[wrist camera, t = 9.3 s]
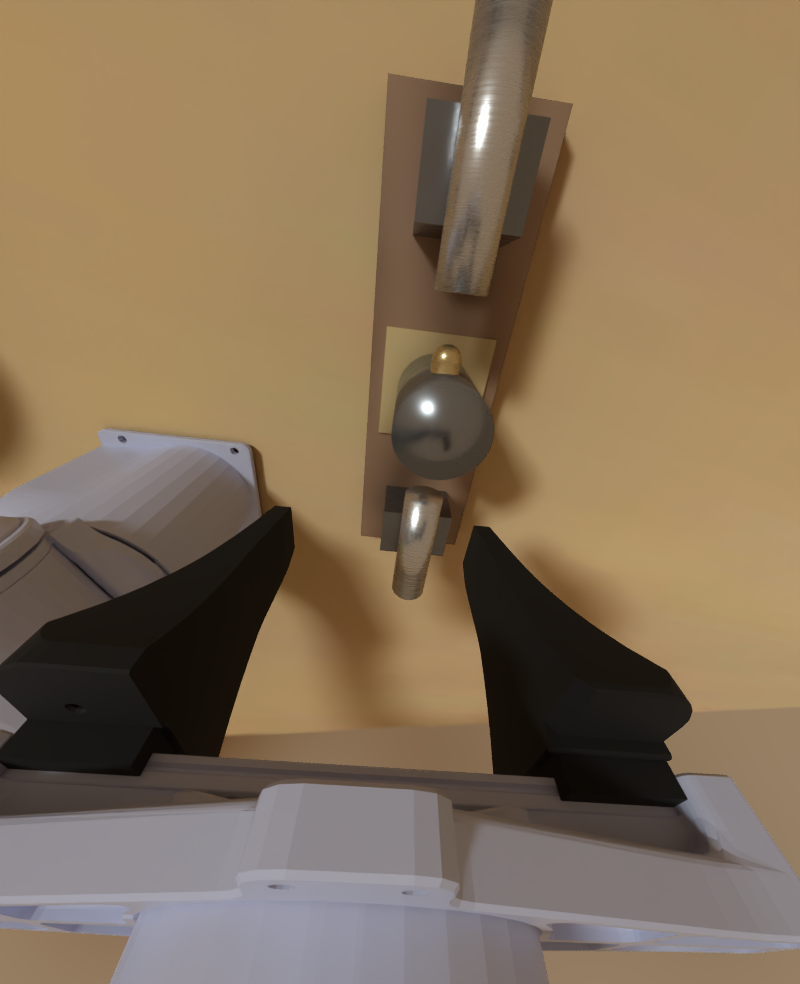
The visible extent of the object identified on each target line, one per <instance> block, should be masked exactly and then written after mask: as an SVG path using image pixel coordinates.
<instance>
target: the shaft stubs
mask: <svg viewBox="0 0 800 984" xmlns="http://www.w3.org/2000/svg"><path fill="white" fill-rule="evenodd" d="M552 3H553V0H475V7H474V14H473V21H472V28H471V35H470V42H469V49H468V56H467V63H466V70H465V77H464V84H463V91H462V98H461V103H457V102H451V101H445V100H439V99H433V98H427V103H426V112H425V121H424V130H423V140H422V149H421V159H420V168H419V178H418V188H417V197H416V207H415V217H414V226H413V235H414V236H422V237H429V238H436V239H441V246H440V253H439V260H438V267H437V274H436V281H435V288H434V290H437V291H443V292H450V293H457V294H465V295H473V296H483V297H488V293H489V289H490V284H491V280H492V275H493V270H494V266H495V261H496V257H497V252H498V248H499V247H500V248H501V247H503V246H505V245H507V244H509V243H511V242H513V241H515V240H517V239H519V238H521V237H522V233H523V229H524V225H525V221H526V217H527V213H528V209H529V205H530V201H531V197H532V193H533V189H534V185H535V181H536V177H537V173H538V169H539V164H540V160H541V156H542V152H543V148H544V144H545V140H546V136H547V132H548V128H549V124H550V120H551V118H550V117H544V116H538V115H532V114H528V112H529V107H530V102H531V98H532V93H533V89H534V84H535V80H536V75H537V71H538V66H539V62H540V57H541V52H542V48H543V43H544V39H545V34H546V30H547V25H548V21H549V16H550V12H551V7H552ZM451 520H452V516H451V511H450V507H449V502H448V497H447V492H446V491H438V490H436V489H434V488H431V487H428V486H412V487H410V488H408V487H399V486H389V485H387V486H386V496H385V506H384V515H383V525H382V535H381V545H380V550H384V551H394V552H397V555H396V562H395V569H394V576H393V583H392V589H393V591H394V593H395V594H396V595H397V596H398V597H400V598H402V599H405V600H413V599H416V598H418V597H420V596H421V594H422V592H423V588H424V584H425V579H426V575H427V570H428V566H429V561H430V557H431V555H437V556H443V552H444V548H445V544H446V540H447V536H448V532H449V528H450V524H451Z"/></svg>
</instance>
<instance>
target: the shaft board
mask: <svg viewBox="0 0 800 984" xmlns="http://www.w3.org/2000/svg"><path fill="white" fill-rule="evenodd" d="M462 91H463V86H461V85H455V84H449V83H443V82H437V81H431V80H424V79H418V78H412V77H406V76H400V75H394V74H388V86H387V103H386V119H385V136H384V153H383V170H382V187H381V204H380V221H379V238H378V254H377V271H376V288H375V305H374V322H373V339H372V356H371V373H370V390H369V406H368V423H367V440H366V457H365V474H364V491H363V508H362V525H361V536H371V537H381V535H382V525H383V515H384V506H385V496H386V486H387V485H389V486H399V487H408V488H410V487H412V486H428V487H431V488H434V489H436V490H438V491H446V492H447V497H448V502H449V507H450V511H451V516H452V520H451V524H450V528H449V532H448V536H447V540H446V544H455V542H456V538H457V534H458V531H459V527H460V523H461V520H462V516H463V512H464V508H465V505H466V501H467V497H468V493H469V490H470V486H471V482H472V478H473V475H474V471H475V468H474V469H473V470H471V471H470V472H468V473H466V474H464V475H462V476H460V477H457V478H453V479H448V480H431V479H426V478H423V477H420V476H418V475H416V474H414V473H412V472H411V471H409V470H408V469H407V468H406V467H405V466H404V465H403V464H402V463H401V462H400V461H399V459H398V458H397V456H396V454H395V452H394V449H393V445H392V439H391V431H392V424H393V417H394V409H395V402H396V395H397V388H398V382H399V379H400V377H401V375H402V373H403V371H404V370H405V368H406V367H407V366H408V365H409V364H410V363H411V362H412V361H414V360H415V359H417V358H419V357H421V356H423V355H427V354H433V353H434V352H435V350H436V349H437V348H438V347H440V346H441V345H444V344H451V345H454V346H455V347H457V348H458V350H459V351H460V354H461V365H462V366H463V367H464V369H465V371H466V372H467V374H468V375H469V377H470V379H471V380H472V382H473V384H474V385H475V387H476V388H477V390H478V392H479V393H480V395H481V397H482V398H483V400H484V401H485V403H486V405H487V406H488V408H489V410H490V411H491V408H492V404H493V400H494V396H495V393H496V389H497V385H498V381H499V378H500V374H501V370H502V367H503V363H504V359H505V355H506V352H507V348H508V344H509V340H510V337H511V333H512V329H513V325H514V322H515V318H516V314H517V311H518V307H519V303H520V299H521V296H522V292H523V288H524V284H525V281H526V277H527V273H528V270H529V266H530V262H531V258H532V255H533V251H534V247H535V243H536V240H537V236H538V232H539V228H540V225H541V221H542V217H543V214H544V210H545V206H546V202H547V199H548V195H549V191H550V187H551V184H552V180H553V176H554V173H555V169H556V165H557V161H558V158H559V154H560V150H561V146H562V143H563V139H564V135H565V131H566V128H567V124H568V120H569V117H570V113H571V109H572V105H573V104H571V103H564V102H558V101H552V100H546V99H540V98H534V97H532V98H531V102H530V107H529V112H528V114H532V115H538V116H544V117H550V118H551V120H550V124H549V128H548V132H547V136H546V140H545V144H544V148H543V152H542V156H541V160H540V164H539V169H538V173H537V177H536V181H535V185H534V189H533V193H532V197H531V201H530V205H529V209H528V213H527V217H526V221H525V225H524V229H523V233H522V237H521V238H519V239H517V240H515V241H513V242H511V243H509V244H507V245H505V246H503V247H501V248H500V247H499V248H498V252H497V257H496V261H495V266H494V270H493V275H492V280H491V284H490V289H489V293H488V297H483V296H473V295H465V294H457V293H450V292H443V291H437V290H434V288H435V281H436V274H437V267H438V260H439V253H440V246H441V239H436V238H429V237H422V236H414V235H413V226H414V217H415V207H416V197H417V188H418V178H419V168H420V159H421V149H422V140H423V130H424V121H425V112H426V103H427V98H433V99H439V100H445V101H451V102H457V103H461V98H462Z"/></svg>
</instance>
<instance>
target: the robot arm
mask: <svg viewBox="0 0 800 984" xmlns="http://www.w3.org/2000/svg"><path fill="white" fill-rule="evenodd" d="M123 436H124V437H125V438H126V440H125V439H124V438H123ZM98 437H99V439H100V441H101V444H102V446H100V447H98V448H96V449H94V450H92V451H90V452H88V453H86V454H84V455H82V456H80V457H78V458H76V459H74V460H72V461H70V462H68V463H65V464H63V465H61V466H59V467H57V468H55V469H53V470H51V471H49V472H47V473H45V474H43V475H41V476H39V477H37V478H35V479H33V480H31V481H29V482H27V483H25V484H23V485H21V486H19V487H17V488H15V489H13V490H12V491H10V492H8V493H7V494H5V495H4V496H3V497H2V498H0V928H7V929H23V930H38V931H54V932H69V933H85V934H100V935H117V936H130V938H129V940H128V942H127V944H126V947H125V949H124V951H123V954H122V956H121V958H120V961H119V963H118V966H117V968H116V970H115V972H114V975H113V977H112V979H111V982H110V984H549V981H548V976H547V971H546V966H545V962H544V957H543V952H542V951H644V952H647V951H648V952H649V951H651V952H652V951H653V952H708V953H711V952H712V953H742V954H752V953H763V952H771V951H772V952H773V951H782V950H792V949H800V879H799V877H798V876H797V875H796V873H795V872H794V870H793V869H792V867H791V866H790V865H789V863H788V861H787V860H786V858H785V857H784V855H783V854H782V852H781V851H780V849H779V848H778V847H777V845H776V844H775V842H774V841H773V839H772V838H771V836H770V835H769V833H768V832H767V830H766V829H765V827H764V826H763V824H762V823H761V821H760V820H759V819H758V817H757V815H756V814H755V812H754V811H753V810H752V808H751V807H750V805H749V804H748V802H747V801H746V799H745V798H744V796H743V795H742V793H741V792H740V790H739V789H738V787H737V786H736V784H735V783H734V781H733V780H732V779H731V777H729V776H727V775H718V774H702V773H682V774H677V775H674V774H673V772H672V770H671V768H670V766H669V765H668V763H667V761H670V760H671V759H672V756H671V753H670V752H669V750H668V748H667V747H666V745H665V743H664V741H665V740H666V739H667V738H669V737H670V736H671V735H673V734H674V733H675V732H676V731H678V730H679V729H680V728H682V727H683V726H684V725H685V724H686V723H687V722H688V721H689V719H690V717H691V714H692V707H691V704H690V702H689V701H688V700H687V698H686V697H685V695H684V694H683V692H682V691H681V690H680V688H679V687H678V685H677V684H676V682H675V681H674V680H673V678H672V677H671V675H670V674H669V673H668V671H667V670H665V669H663V668H662V667H660V666H658V665H656V664H655V663H653V662H651V661H650V660H648V659H646V658H644V657H643V656H641V655H639V654H637V653H636V652H634V651H632V650H630V649H629V648H627V647H625V646H624V645H622V644H621V643H619V642H618V641H616V640H615V639H613V638H611V637H610V636H608V635H607V634H605V633H604V632H602V631H601V630H599V629H598V628H597V627H595V626H594V625H592V624H591V623H589V622H588V621H587V620H585V619H584V618H583V617H581V616H580V615H579V614H577V613H576V612H575V611H573V610H572V609H571V608H570V607H568V606H567V605H566V604H565V603H563V602H562V601H561V600H560V599H559V598H557V597H556V596H555V595H554V594H553V593H552V592H550V591H549V590H548V589H547V588H546V587H545V586H544V585H543V584H542V583H541V582H540V581H539V580H537V579H536V578H535V577H534V576H533V575H532V574H531V573H530V572H529V571H528V570H527V569H526V568H525V567H524V565H523V564H522V563H521V562H520V561H519V560H518V559H517V558H516V557H515V556H514V555H513V554H512V552H511V551H510V550H509V549H508V548H507V547H506V546H505V544H504V543H503V542H502V541H501V540H500V539H499V537H498V536H497V535H496V534H495V533H494V532H493V531H492V530H491V528H490V527H484V526H474V527H473V531H472V534H471V538H470V541H469V544H468V548H467V551H466V554H465V558H464V561H463V569H464V579H465V587H466V591H467V596H468V600H469V604H470V608H471V612H472V616H473V620H474V624H475V629H476V633H477V637H478V641H479V646H480V652H481V659H482V666H483V673H484V681H485V689H486V698H487V707H488V717H489V727H490V737H491V750H492V762H493V774H481V773H465V772H449V771H433V770H416V769H400V768H384V767H367V766H351V765H335V764H319V763H302V762H287V761H286V762H285V761H269V760H253V759H236V758H222V757H219V754H220V750H221V747H222V743H223V740H224V737H225V733H226V730H227V726H228V723H229V719H230V716H231V713H232V710H233V707H234V703H235V700H236V697H237V694H238V691H239V687H240V684H241V681H242V678H243V675H244V672H245V669H246V666H247V663H248V660H249V658H250V655H251V652H252V649H253V646H254V644H255V641H256V638H257V635H258V632H259V630H260V628H261V625H262V623H263V621H264V619H265V616H266V614H267V612H268V610H269V608H270V606H271V604H272V602H273V600H274V598H275V595H276V593H277V591H278V589H279V587H280V585H281V583H282V581H283V579H284V576H285V574H286V572H287V570H288V567H289V564H290V561H291V558H292V554H293V551H294V548H295V546H294V535H293V523H292V512H291V507H281V506H274V507H273V508H272V509H270V510H269V511H268V512H266V513H265V514H264V515H262V512H261V506H260V499H259V492H258V486H257V479H256V472H255V465H254V459H253V452H252V448H251V447H250V446H249V445H248V444H246V443H240V442H230V441H221V440H212V439H202V438H193V437H184V436H174V435H165V434H156V433H146V432H137V431H128V430H118V429H109V428H105V429H102V430H100V431H99V432H98ZM233 448H236V449H237V450H238V452H235V451H234V449H233Z"/></svg>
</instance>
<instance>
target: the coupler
mask: <svg viewBox="0 0 800 984" xmlns="http://www.w3.org/2000/svg"><path fill="white" fill-rule="evenodd" d="M493 437H494V421H493V417H492V414H491V412H490V410H489V408H488V406H487V405H486V403H485V401H484V400H483V398H482V397H481V395H480V393H479V392H478V390H477V388H476V387H475V385H474V384H473V382H472V380H471V379H470V377H469V375H468V374H467V372H466V371H465V369H464V367H463V366H462V365H461V354H460V351H459V350H458V348H457V347H455V346H454V345H451V344H444V345H441V346H440V347H438V348H437V349H436V350H435V352H434V353H433V354H427V355H423V356H421V357H419V358H417V359H415V360H414V361H412V362H411V363H410V364H409V365H408V366H407V367H406V368H405V370H404V371H403V373H402V375H401V377H400V379H399V382H398V388H397V395H396V402H395V409H394V417H393V424H392V431H391V439H392V445H393V449H394V452H395V454H396V456H397V458H398V459H399V461H400V462H401V463H402V464H403V465H404V466H405V467H406V468H407V469H408V470H409V471H411V472H412V473H414V474H416V475H418V476H420V477H423V478H426V479H431V480H448V479H453V478H457V477H460V476H462V475H464V474H466V473H468V472H470V471H471V470H473V469H474V468H475V467H477V466H478V465H479V464H480V463H481V462H482V460H483V459H484V458H485V457H486V455H487V453H488V452H489V450H490V448H491V445H492V442H493Z"/></svg>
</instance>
